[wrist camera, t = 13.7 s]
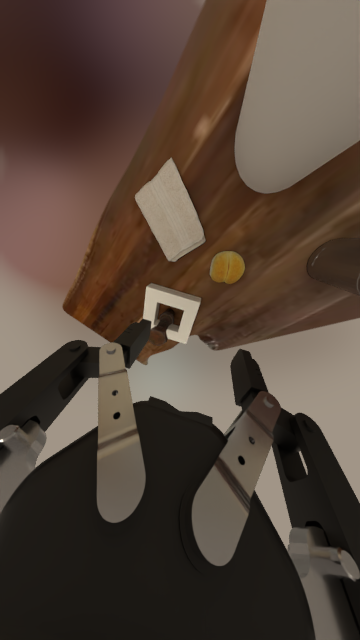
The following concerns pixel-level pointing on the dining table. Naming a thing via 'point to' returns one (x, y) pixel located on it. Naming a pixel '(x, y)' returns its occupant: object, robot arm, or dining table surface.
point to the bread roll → (227, 267)
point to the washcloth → (170, 213)
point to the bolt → (161, 328)
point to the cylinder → (300, 92)
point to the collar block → (174, 299)
